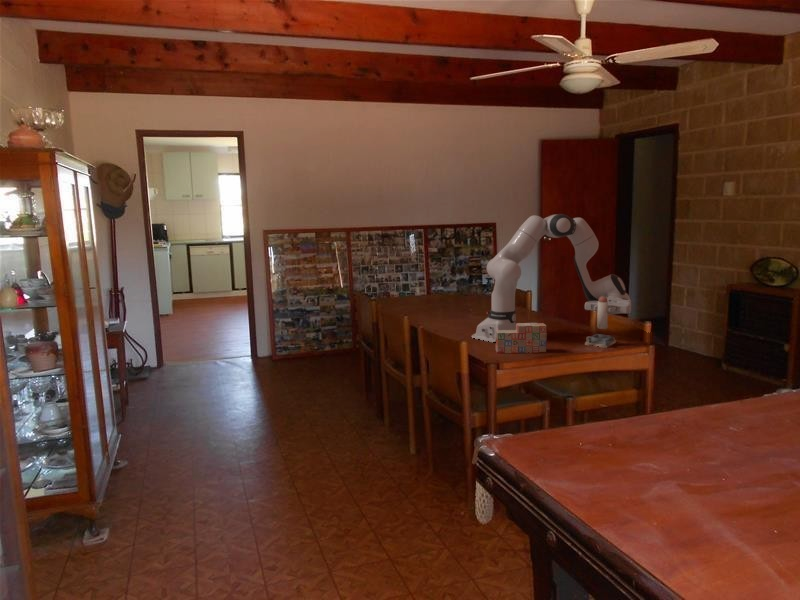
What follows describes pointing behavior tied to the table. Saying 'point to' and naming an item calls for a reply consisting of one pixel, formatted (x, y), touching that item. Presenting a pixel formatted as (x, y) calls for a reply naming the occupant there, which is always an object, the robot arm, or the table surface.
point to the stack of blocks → (522, 339)
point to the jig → (600, 340)
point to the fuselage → (602, 313)
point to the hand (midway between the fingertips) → (601, 309)
